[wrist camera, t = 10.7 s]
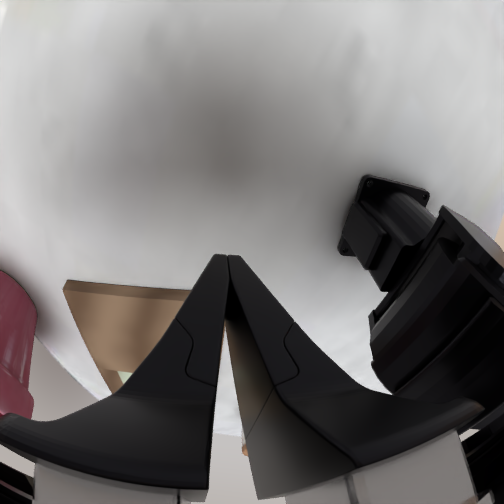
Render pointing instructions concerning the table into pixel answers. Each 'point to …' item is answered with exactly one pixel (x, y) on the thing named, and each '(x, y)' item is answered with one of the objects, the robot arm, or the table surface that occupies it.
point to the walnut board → (121, 323)
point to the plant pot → (15, 347)
